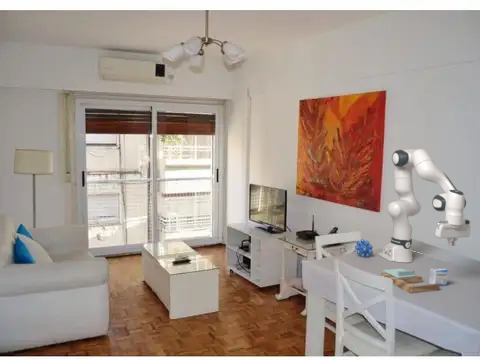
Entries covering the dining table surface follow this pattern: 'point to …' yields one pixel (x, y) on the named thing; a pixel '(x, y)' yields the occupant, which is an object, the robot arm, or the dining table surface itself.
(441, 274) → the medicine box
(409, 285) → the puzzle board
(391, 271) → the lid
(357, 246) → the grapes
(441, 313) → the dining table surface
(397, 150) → the robot arm
